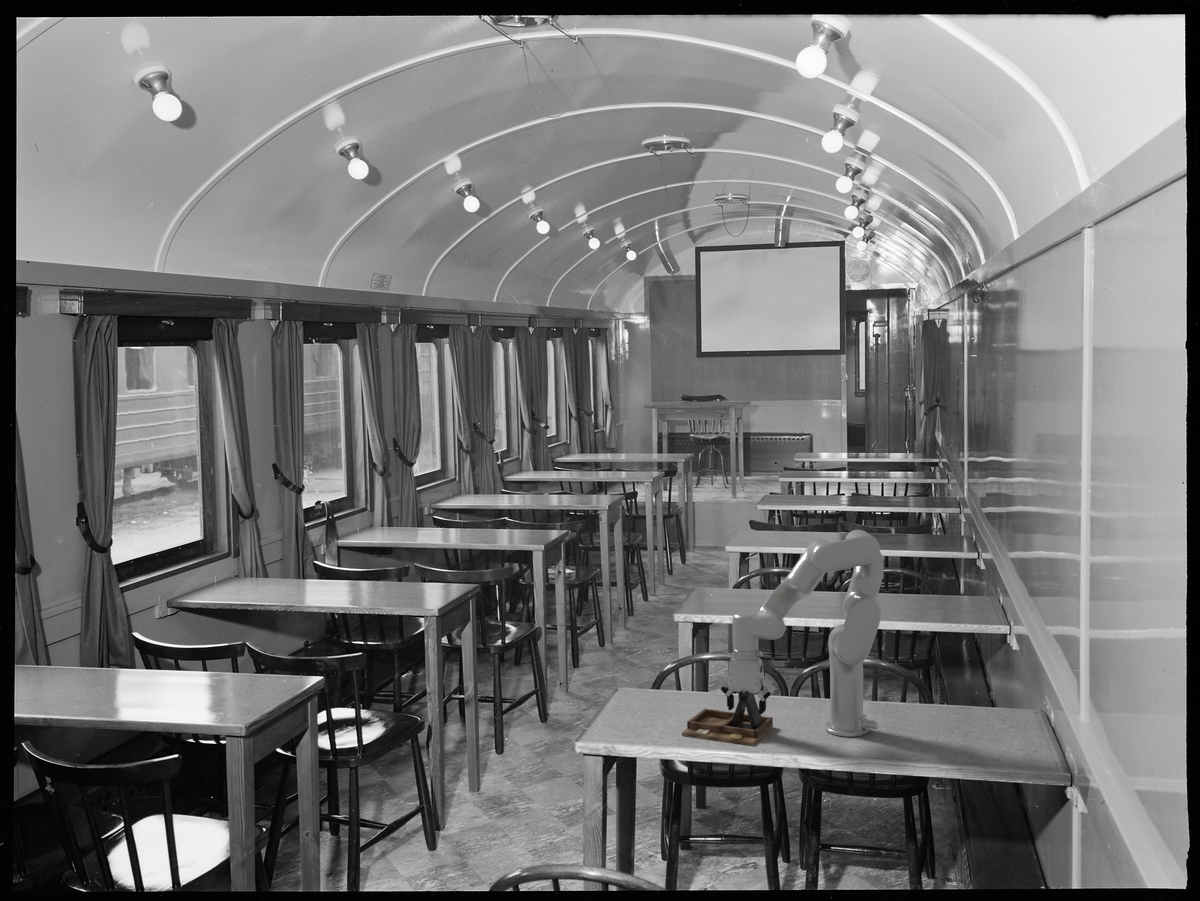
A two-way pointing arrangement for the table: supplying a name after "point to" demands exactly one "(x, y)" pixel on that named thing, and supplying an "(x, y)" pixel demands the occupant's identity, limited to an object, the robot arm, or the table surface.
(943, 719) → the table surface
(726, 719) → the bay board
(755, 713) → the phone stand
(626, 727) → the table surface
